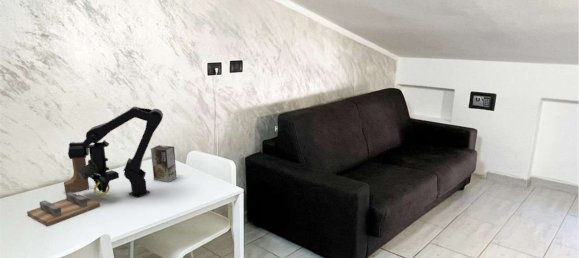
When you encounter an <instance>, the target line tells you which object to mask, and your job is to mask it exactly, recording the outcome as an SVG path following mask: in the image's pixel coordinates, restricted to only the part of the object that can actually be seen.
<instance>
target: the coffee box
mask: <svg viewBox="0 0 579 258" xmlns="http://www.w3.org/2000/svg"><path fill="white" fill-rule="evenodd" d="M150 152H151V153H150V155H151V164H152V165H151V166H152V174H153V181H157V182H158V181H159V182H165V183H170V182H172V181H174V180H176V179H177V165H176V156H175V155H176V153H175V146H173V145H172V146H170V145H161V144H159V145H156V146H154V147H152V148H150Z"/></svg>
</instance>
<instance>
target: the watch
mask: <svg viewBox="0 0 579 258" xmlns="http://www.w3.org/2000/svg"><path fill="white" fill-rule="evenodd" d="M99 184H100V182H99V181H98V183H97V184H95V185H94V187H93V191H94V194H96V195H97V196H102V195H106V194H108V193H109V192H110V184H108V186H107V189H106V191H105V192H101V193H98V192H97V189H98V188H97V186H98V185H99Z"/></svg>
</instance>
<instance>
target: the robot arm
mask: <svg viewBox="0 0 579 258" xmlns="http://www.w3.org/2000/svg"><path fill="white" fill-rule="evenodd" d="M134 118H136V119H138V120H139V119H140V120H142V121H146V122H145V127H144V128H145V129H144V132H143V135H142V136H141V139H140V142H139V143H138V146H137V148H136V151H135V153H134V155H133V157H132V158H129V157H128V159H127V161H126V164H125V166H124V168H123V170H122V171H123V175H124V178H125V179H127V180H128V181H129V183H130V186H131V188H130V189H131V192H128V195H130V196H133V197H135V198H140V197H142V196H144V195H147V194H150V193H151V191H150V190H147V189H148V188H147V180H146V179H145V178H146V177H145V176H146V174H147V172H146V171H145V170H143V169H142V162H143V158H144V156H145V154H146V152H147V149H148V146H149V144H150V142H151V139H152V137H153V135H154V133H155V131H156V130H157V128H158V127H159V125H160V124H161V122H162V121H163V118H164V114H163V111H162V110H160V109H159V108H153V109H151V108H145V107H138V106H133V107H131V108H129V109H128V110H126V111H125V112H123V113H121V114H119V115H117V116H116V117H114V118H112V119H111V120H109V121H107V122H105V123H101V124H98V125H96V126H93V127H91V128H89V130H88V131H87V132H86V134H85V139H84V141H82V142H73V141H72V142H70V143H68V151H67V155H68V156H67V157H68V158H69V160H72V159H79V158H85V159H86V158H87V156H89V159H88V161H87V164H86V166H84V167H82V168H81V169H79V170H78V171H77V173H78V175H79V176H80V178H83V179H88V180H89V178H90V179H91V180H93V182H94V184H95V185H96V184H97V183H98V181H99V182H100V184H99V185H98V186H97V188H96V189H98V191H99V192H101V193H104V192H106V190H107V188H108V187H107V186H108V184H109V183H110V181H113V180H116V179H119V178H120V175H119V174H120V173H119V172H117V171H116V170H110V168H109V166H107V161H109V158H108V157H106V152H105V151H106V150H105V148H107V147H109V145H110V143H109V142H107V141H106V139H103V138H105V137H106V136H107V135H108V134H109V133H110V132H112V131H114V130H116V129H117V128H119V127H121V126H123V125H124V124H125V123H128V122H130V121H131V120H133V119H134ZM102 139H103V141H101V140H102ZM109 185H110V184H109Z"/></svg>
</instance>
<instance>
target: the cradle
mask: <svg viewBox="0 0 579 258" xmlns="http://www.w3.org/2000/svg"><path fill="white" fill-rule="evenodd" d="M100 207H101V204H100V202H99V201H96V200H94V199H91V198H89V197H86V196H84V195H81V194H79V193H78V194H77V193H75V192H73V193H72V192H69V193H66V192H65V198H64V199H60V200H58V201H54V202H52V203H51V202H50V201H48V200H42V201H39V207H37V208H35V209H34V208H33V209H31V210H27V212H26V214H27V216H28V217H29V218H32V219H34V220H36V221H38V222H39V223H41V224H43V225H44V226H46V227H50V226H52V225H55V224H58V223H61V222H63V221H66V220H68V219H71V218H73V217H77V216H79V215H81V214H84V213H87V212H90V211H92V210H95V209H98V208H100Z"/></svg>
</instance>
